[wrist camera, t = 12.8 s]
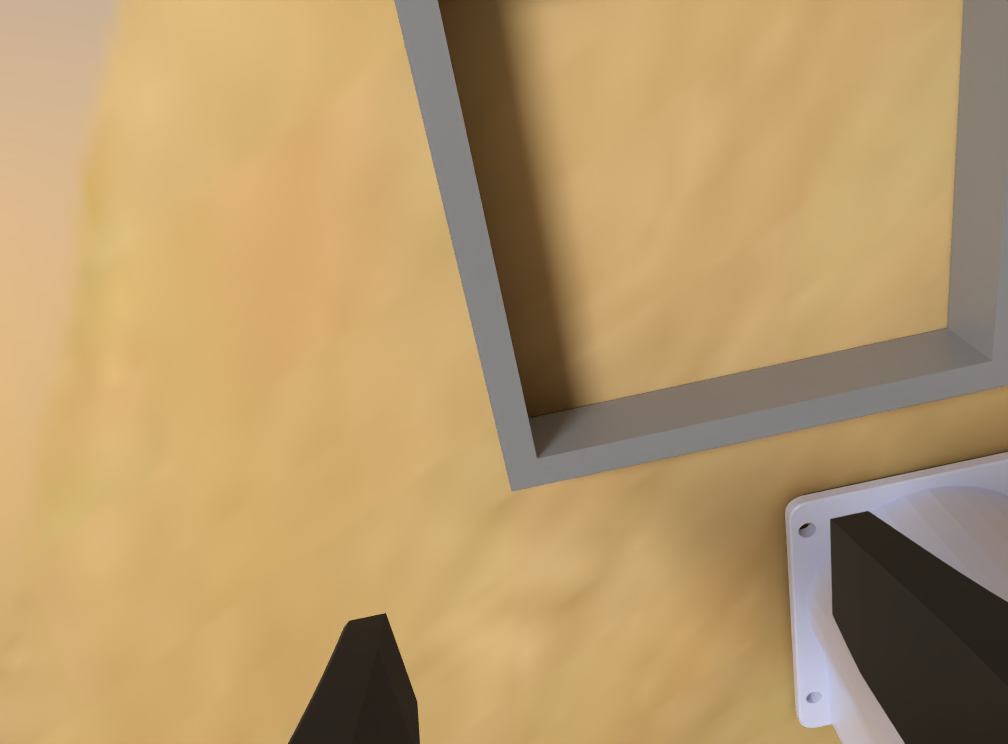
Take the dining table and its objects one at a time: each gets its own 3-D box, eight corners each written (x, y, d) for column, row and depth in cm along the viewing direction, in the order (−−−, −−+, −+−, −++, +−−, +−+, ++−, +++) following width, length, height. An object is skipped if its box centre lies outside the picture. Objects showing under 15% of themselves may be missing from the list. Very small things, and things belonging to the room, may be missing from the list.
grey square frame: (975, 348, 23) (1021, 382, 21) (505, 448, 23) (511, 491, 21) (1014, -226, 17) (1083, -245, 15) (379, -81, 17) (374, -85, 15)
